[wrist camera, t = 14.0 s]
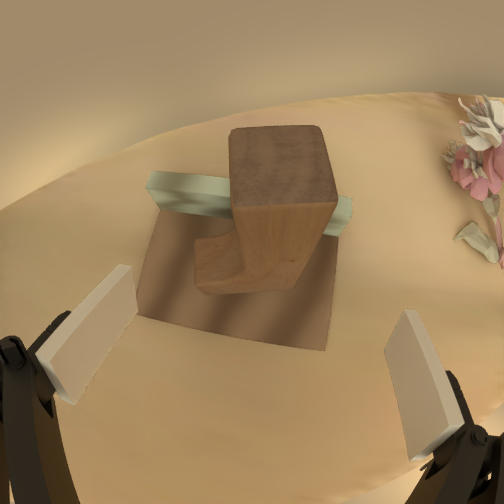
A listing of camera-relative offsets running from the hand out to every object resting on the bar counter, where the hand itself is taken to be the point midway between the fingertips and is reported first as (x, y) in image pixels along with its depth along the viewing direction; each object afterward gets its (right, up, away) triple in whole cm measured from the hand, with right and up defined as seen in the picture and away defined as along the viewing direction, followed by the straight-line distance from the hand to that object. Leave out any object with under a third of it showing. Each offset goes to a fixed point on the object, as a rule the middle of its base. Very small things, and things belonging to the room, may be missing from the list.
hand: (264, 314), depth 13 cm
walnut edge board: (-2, +1, +18) cm, 18 cm away
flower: (+30, +10, +20) cm, 37 cm away
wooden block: (-1, +1, +16) cm, 16 cm away
